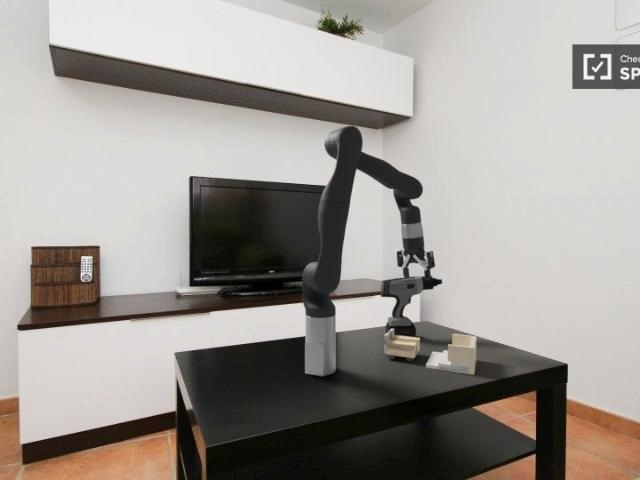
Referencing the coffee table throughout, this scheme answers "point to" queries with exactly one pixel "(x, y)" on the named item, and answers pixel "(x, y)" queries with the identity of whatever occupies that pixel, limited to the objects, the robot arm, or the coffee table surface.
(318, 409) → the coffee table surface
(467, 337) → the dock
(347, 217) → the robot arm
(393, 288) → the cordless drill
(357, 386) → the coffee table surface
